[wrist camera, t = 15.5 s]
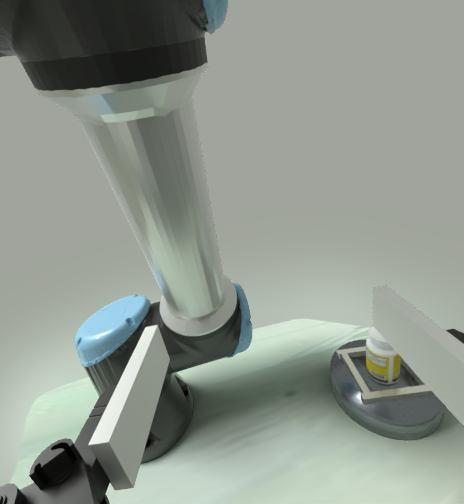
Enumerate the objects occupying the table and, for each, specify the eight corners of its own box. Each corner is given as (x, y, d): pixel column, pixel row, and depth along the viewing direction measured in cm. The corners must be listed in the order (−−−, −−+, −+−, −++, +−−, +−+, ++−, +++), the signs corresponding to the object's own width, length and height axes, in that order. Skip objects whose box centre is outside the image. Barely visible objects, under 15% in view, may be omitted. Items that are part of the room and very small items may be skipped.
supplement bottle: (390, 361, 42) (392, 321, 40) (405, 384, 38) (409, 342, 35) (361, 363, 43) (361, 324, 40) (373, 386, 39) (374, 344, 36)
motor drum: (356, 446, 35) (356, 421, 33) (319, 361, 50) (317, 341, 48) (472, 432, 34) (478, 406, 32) (399, 350, 49) (400, 329, 47)
